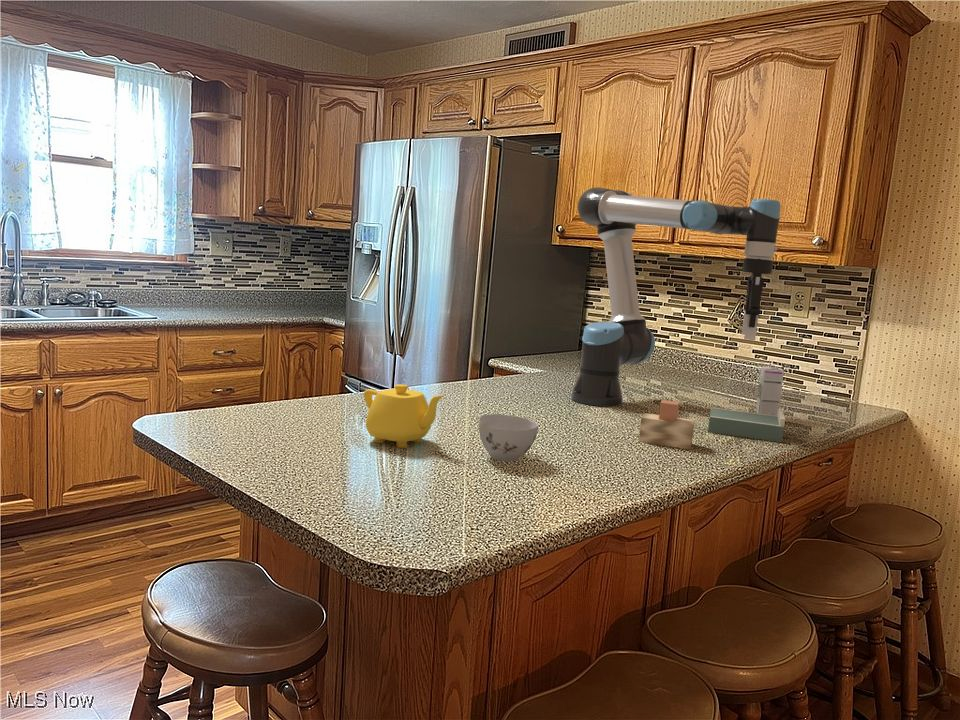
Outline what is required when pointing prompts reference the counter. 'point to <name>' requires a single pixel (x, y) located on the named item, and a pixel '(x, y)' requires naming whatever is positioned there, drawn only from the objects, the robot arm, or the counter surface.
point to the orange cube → (668, 410)
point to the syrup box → (769, 390)
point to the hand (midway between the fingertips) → (748, 337)
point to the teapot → (399, 415)
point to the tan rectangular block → (666, 431)
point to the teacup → (507, 435)
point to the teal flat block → (747, 424)
